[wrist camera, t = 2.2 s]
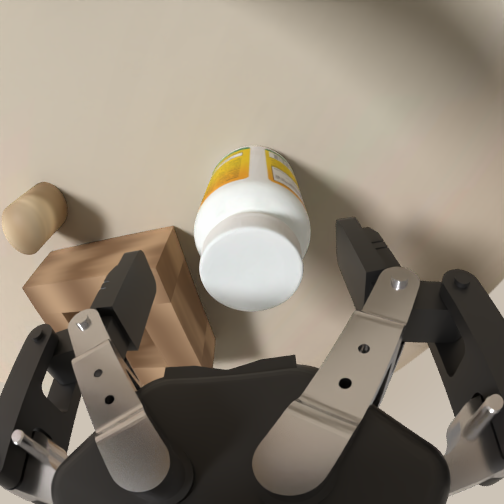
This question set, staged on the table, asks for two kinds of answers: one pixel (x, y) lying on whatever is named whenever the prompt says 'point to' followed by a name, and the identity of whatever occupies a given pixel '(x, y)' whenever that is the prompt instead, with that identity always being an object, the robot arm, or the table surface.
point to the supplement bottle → (252, 231)
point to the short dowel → (34, 217)
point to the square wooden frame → (163, 308)
